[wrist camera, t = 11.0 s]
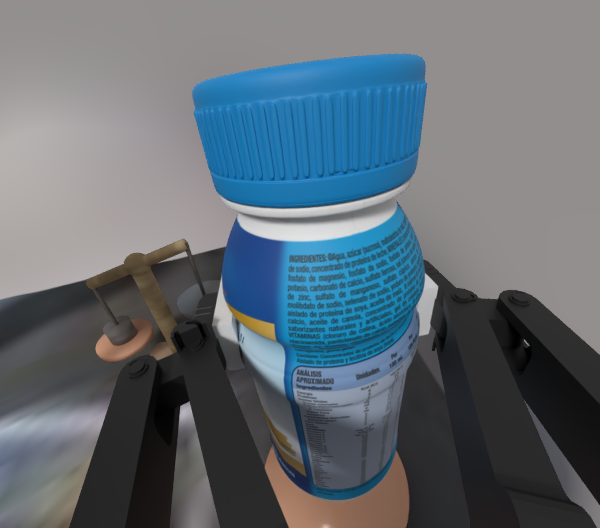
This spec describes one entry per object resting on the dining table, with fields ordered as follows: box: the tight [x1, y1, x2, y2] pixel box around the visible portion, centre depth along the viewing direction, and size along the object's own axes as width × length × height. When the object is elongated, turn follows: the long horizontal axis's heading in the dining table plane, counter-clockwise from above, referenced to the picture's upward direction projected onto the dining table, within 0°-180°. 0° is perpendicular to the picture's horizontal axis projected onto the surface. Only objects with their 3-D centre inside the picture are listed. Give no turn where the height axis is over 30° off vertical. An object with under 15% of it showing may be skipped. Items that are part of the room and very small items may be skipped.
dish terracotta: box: [265, 446, 409, 528], centre depth 23 cm, size 12×12×1 cm
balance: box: [86, 239, 221, 362], centre depth 31 cm, size 17×6×18 cm, turn 98°
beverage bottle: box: [193, 54, 427, 501], centre depth 13 cm, size 8×8×20 cm
